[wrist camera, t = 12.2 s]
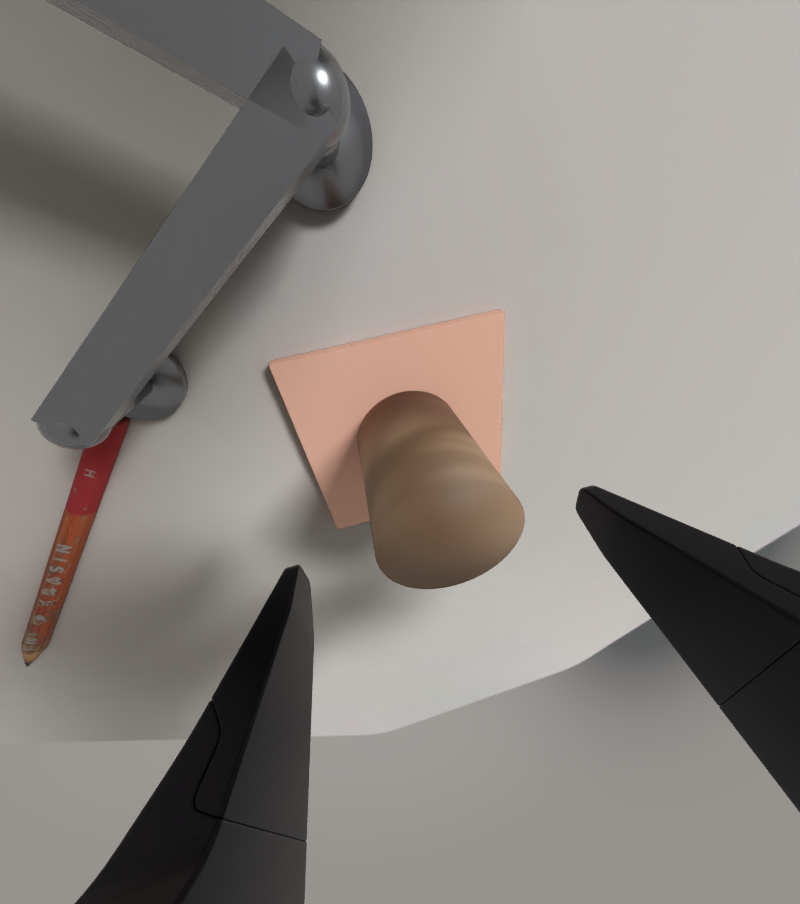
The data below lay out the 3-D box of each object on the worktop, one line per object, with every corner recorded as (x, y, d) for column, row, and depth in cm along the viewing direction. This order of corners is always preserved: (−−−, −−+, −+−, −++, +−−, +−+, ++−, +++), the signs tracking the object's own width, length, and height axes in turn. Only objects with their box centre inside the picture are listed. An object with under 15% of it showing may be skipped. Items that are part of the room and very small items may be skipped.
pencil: (103, 400, 12) (88, 412, 11) (137, 413, 12) (124, 425, 12) (21, 656, 19) (8, 674, 18) (45, 658, 19) (33, 676, 18)
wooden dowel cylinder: (454, 379, 13) (530, 462, 8) (460, 465, 16) (520, 566, 11) (345, 405, 13) (358, 507, 8) (370, 488, 16) (391, 603, 11)
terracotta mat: (499, 309, 12) (505, 311, 12) (496, 481, 18) (500, 486, 17) (270, 360, 12) (268, 365, 11) (337, 522, 17) (337, 529, 17)
